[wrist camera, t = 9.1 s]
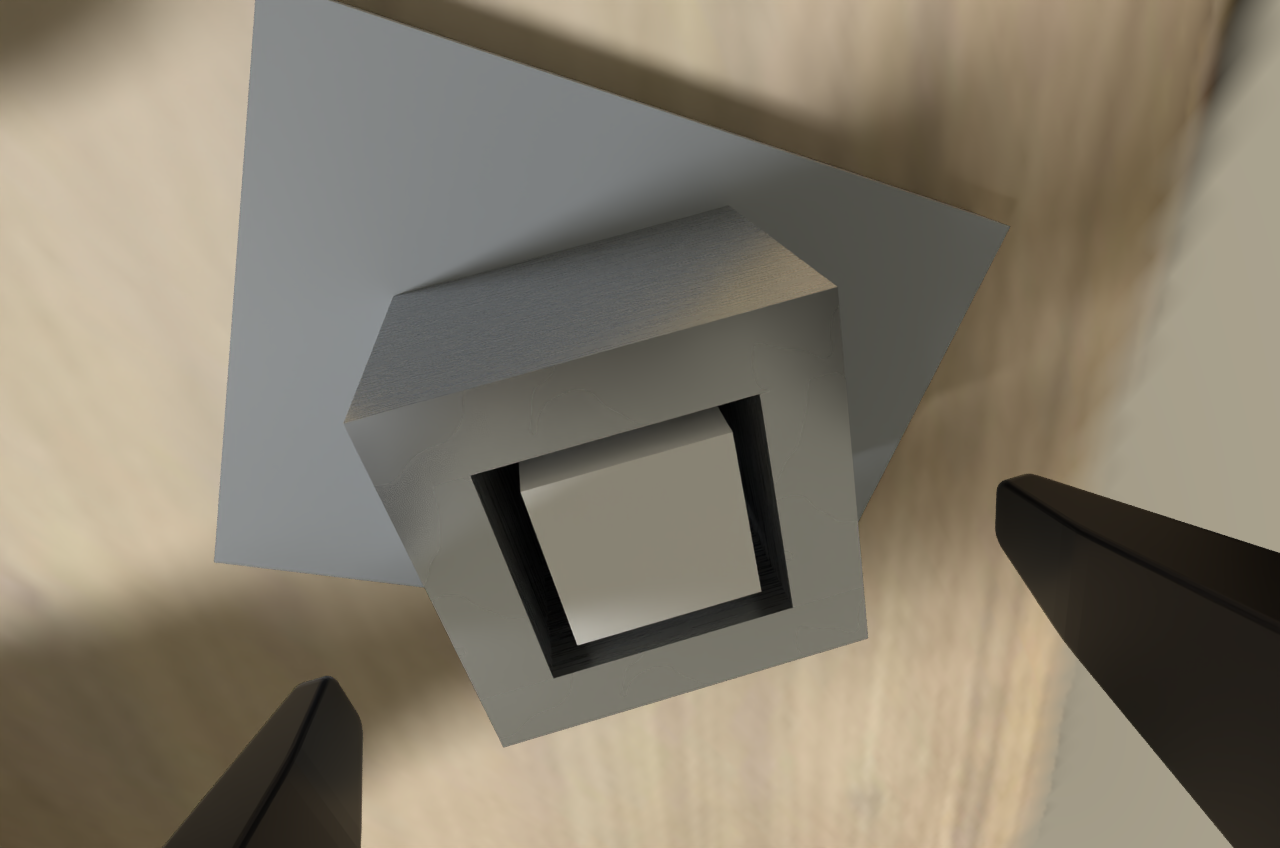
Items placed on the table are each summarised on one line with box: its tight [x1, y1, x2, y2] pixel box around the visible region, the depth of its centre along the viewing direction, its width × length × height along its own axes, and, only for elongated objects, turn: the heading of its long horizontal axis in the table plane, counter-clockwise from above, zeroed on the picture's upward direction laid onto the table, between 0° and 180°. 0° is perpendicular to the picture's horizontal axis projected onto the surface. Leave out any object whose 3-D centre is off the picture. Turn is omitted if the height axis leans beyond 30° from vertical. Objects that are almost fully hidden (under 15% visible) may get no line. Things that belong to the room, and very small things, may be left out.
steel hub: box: [343, 205, 868, 747], centre depth 13 cm, size 6×6×5 cm
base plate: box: [214, 0, 1010, 646], centre depth 13 cm, size 11×14×6 cm
